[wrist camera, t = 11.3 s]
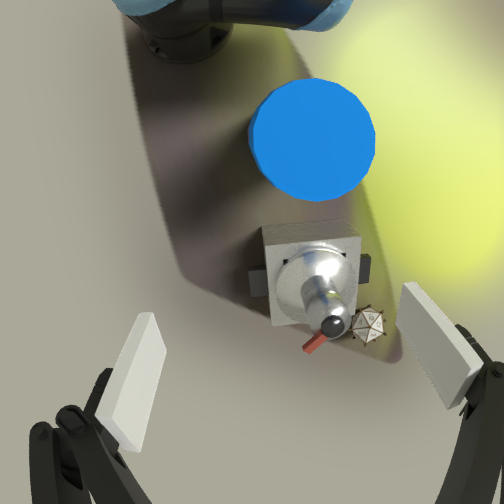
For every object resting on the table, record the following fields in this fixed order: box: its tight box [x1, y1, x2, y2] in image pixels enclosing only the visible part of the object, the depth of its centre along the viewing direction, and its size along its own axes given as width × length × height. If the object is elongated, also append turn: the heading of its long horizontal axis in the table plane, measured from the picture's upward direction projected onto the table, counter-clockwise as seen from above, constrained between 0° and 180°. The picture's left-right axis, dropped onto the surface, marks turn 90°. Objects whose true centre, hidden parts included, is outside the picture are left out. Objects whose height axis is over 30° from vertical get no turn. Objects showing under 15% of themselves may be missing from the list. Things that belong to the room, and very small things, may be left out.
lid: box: [275, 247, 357, 354], centre depth 41 cm, size 13×13×14 cm
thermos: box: [247, 78, 375, 202], centre depth 33 cm, size 11×11×25 cm
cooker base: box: [248, 219, 371, 326], centre depth 49 cm, size 15×21×9 cm
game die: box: [348, 305, 387, 347], centre depth 56 cm, size 9×8×10 cm
